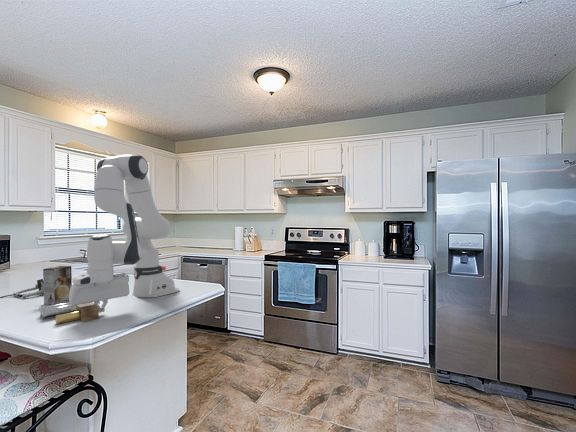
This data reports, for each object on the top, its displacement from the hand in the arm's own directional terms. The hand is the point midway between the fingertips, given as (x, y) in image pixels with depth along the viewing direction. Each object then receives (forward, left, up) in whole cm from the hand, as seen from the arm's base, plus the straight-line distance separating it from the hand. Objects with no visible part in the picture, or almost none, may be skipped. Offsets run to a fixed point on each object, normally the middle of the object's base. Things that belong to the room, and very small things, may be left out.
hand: (100, 311), depth 120 cm
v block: (+10, -13, -3) cm, 17 cm away
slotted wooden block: (+4, 0, -3) cm, 5 cm away
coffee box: (+6, -43, -3) cm, 43 cm away
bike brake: (+14, -67, -3) cm, 69 cm away
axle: (+8, 0, -1) cm, 8 cm away
